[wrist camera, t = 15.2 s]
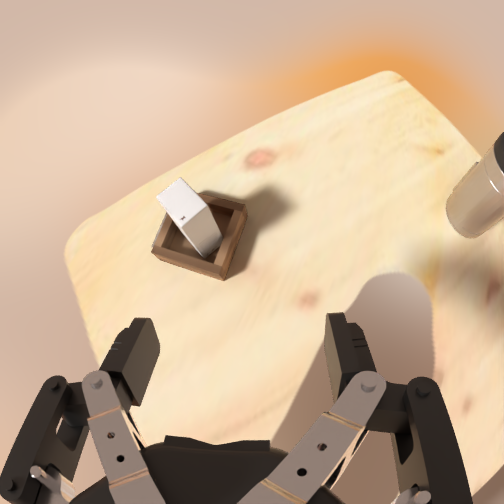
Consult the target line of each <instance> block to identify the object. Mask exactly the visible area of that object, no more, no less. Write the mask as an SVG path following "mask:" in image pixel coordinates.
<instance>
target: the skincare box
mask: <svg viewBox="0 0 504 504" xmlns="http://www.w3.org/2000/svg"><path fill="white" fill-rule="evenodd" d="M156 197H157V199H158V201H159V202H160V203H161V205H162V206H163V208H164V209H165V210H166V212H167V213H168V214H169V216H170V217H171V218H172V220H173V221H174V222H175V224H176V225H177V226H178V228H179V229H180V231H181V232H182V233H183V235H184V236H185V237H186V238H187V239H188V241H189V242H190V243H191V244H192V245H193V247H194V248H195V249H196V250H197V251H198V252H199V254H200V255H201V256H202V257H203V258H204V259H205V258H206V257H207V256H209V255H210V254H211V253H212V252H213V251H214V250H216V249H217V248H218V247H219V246H220V245H221V243H222V241H223V237H222V234H221V232H220V230H219V228H218V226H217V224H216V222H215V220H214V218H213V216H212V213H211V211H210V209H209V207H208V205H207V204H206V203H205V202H204V201H203V199H202V198H201V197H200V196H199V195H198V194H197V193H196V192H195V191H194V190H193V189H192V188H191V187H190V186H189V185H188V184H187V183H186V182H185V181H184V180H183V179H182V178H181V177H180V178H179V179H178V180H176V181H175V182H174V183H173V184H171V185H170V186H169V187H168V188H166V189H165V190H164V191H162V192H161V193H160V194H159V195H157V196H156Z"/></svg>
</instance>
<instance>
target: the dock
mask: <svg viewBox="0 0 504 504" xmlns="http://www.w3.org/2000/svg"><path fill="white" fill-rule="evenodd" d="M197 194H198V195H199V196H200V197H201V198H202V199H203V201H204V202H205V203H206V204H207V205H208V207H209V209H210V211H211V213H212V216H213V218H214V220H215V222H216V224H217V226H218V228H219V230H220V232H221V234H222V237H223V241H222V243H221V245H220V246H219V247H218V248H217V249H216V250H214V251H213V252H212V253H211V254H210V255H209V256H207V257H206V258H205V259H204V258H203V257H202V256H201V255H200V254H199V252H198V251H197V250H196V249H195V248H194V247H193V245H192V244H191V243H190V242H189V241H188V239H187V238H186V237H185V236H184V235H183V233H182V232H181V231H180V229H179V228H178V226H177V225H176V224H175V222H174V221H173V220H172V218H171V217H170V216H169V214H168V213H166V215H165V217H164V219H163V221H162V224H161V226H160V228H159V231H158V233H157V235H156V237H155V240H154V242H153V244H152V247H153V249H152V251H151V253H153V254H154V255H155V256H156V257H157V258H159V259H160V260H161V261H164V262H167V263H170V264H173V265H176V266H179V267H182V268H185V269H188V270H191V271H194V272H197V273H200V274H203V275H207V276H210V277H213V278H216V279H219V280H222V281H224V280H225V277H226V274H227V271H228V269H229V266H230V263H231V260H232V258H233V255H234V252H235V249H236V247H237V244H238V241H239V238H240V236H241V233H242V230H243V228H244V225H245V222H246V219H247V217H248V215H247V211H246V207H245V205H244V204H240V203H236V202H232V201H228V200H224V199H220V198H216V197H212V196H208V195H204V194H200V193H197Z"/></svg>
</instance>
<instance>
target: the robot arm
mask: <svg viewBox="0 0 504 504" xmlns="http://www.w3.org/2000/svg"><path fill="white" fill-rule="evenodd" d="M446 211H447V215H448V219H449V221H450V223H451V224H452V226H453V227H454V229H455V230H456V231H457V232H458V233H460V234H461V235H463V236H465V237H467V238H476V237H478V236H479V235H481V234H482V233H484V232H485V231H486V230H488V229H489V228H490V227H492V226H493V225H494V224H496V223H497V222H498V221H500V220H501V219H502V218H503V217H504V132H503V133H502V134H501V135H500V136H499V138H498V139H497V140H496V142H495V143H494V144H493V145H492V147H491V148H490V149H489V151H488V152H487V153H486V154H485V156H484V157H483V158H482V159H481V161H480V162H476V163H475V164H474V165H473V166H472V167H471V169H470V170H469V171H468V172H467V173H466V175H465V176H464V177H463V178H462V179H461V181H460V182H459V183H458V184H457V185H456V186H455V188H454V189H453V193H452V194H451V195H450V197H449V198H448V200H447V204H446ZM324 347H325V355H326V360H327V366H328V371H329V377H330V382H331V388H332V394H333V400H334V405H333V407H332V408H331V409H330V411H328V412H324V413H322V414H321V415H320V417H319V418H318V419H317V420H316V422H315V423H314V424H313V425H312V427H311V428H310V429H309V430H308V432H307V433H306V434H305V435H304V437H303V438H302V439H301V440H300V441H299V442H298V444H297V445H296V446H295V447H294V448H293V449H292V451H291V452H290V453H288V452H285V451H283V450H280V449H277V448H273V447H270V440H243V441H237V442H232V443H227V444H221V445H212V444H208V443H205V442H202V441H198V440H195V439H192V438H187V437H177V436H168V435H166V436H165V440H164V442H161V443H156V444H153V445H150V446H148V447H147V445H146V443H145V441H144V439H143V437H142V435H141V433H140V431H139V429H138V427H137V425H136V423H135V421H134V419H133V416H132V414H131V412H130V411H129V410H130V407H131V405H133V406H140V405H141V403H142V400H143V397H144V394H145V392H146V389H147V386H148V383H149V381H150V378H151V375H152V372H153V370H154V367H155V364H156V362H157V359H158V356H159V353H160V343H159V340H158V337H157V334H156V331H155V328H154V325H153V322H152V320H151V319H150V318H134V319H133V321H132V323H131V325H130V327H129V328H125V329H124V330H122V331H121V332H120V333H119V334H118V335H117V337H116V339H115V341H114V344H113V345H112V346H111V350H109V352H108V354H107V356H106V357H105V359H104V361H103V363H102V365H101V367H100V369H99V371H93V372H91V373H89V374H88V375H87V376H86V377H85V378H84V379H83V381H82V382H76V383H68V382H67V381H66V379H65V378H64V377H62V376H53V377H51V378H49V379H48V380H46V381H45V383H44V384H43V386H42V388H41V390H40V392H39V393H38V395H37V397H36V399H35V401H34V403H33V405H32V407H31V409H30V411H29V413H28V415H27V417H26V419H25V421H24V423H23V425H22V428H21V429H20V432H19V434H18V436H17V438H16V441H15V443H14V445H13V447H12V449H11V452H10V454H9V456H8V459H7V461H6V463H5V466H4V468H3V471H2V473H1V476H0V495H1V496H2V497H3V498H4V499H5V500H7V501H9V502H10V503H11V504H345V503H344V502H343V501H342V500H341V499H340V498H338V497H337V496H336V495H335V494H334V493H333V492H332V491H331V489H332V487H333V486H334V485H335V483H336V482H337V481H338V479H339V478H340V476H341V475H342V473H343V472H344V470H345V468H346V467H347V465H348V463H349V462H350V460H351V459H352V457H353V456H354V454H355V452H356V451H357V449H358V448H359V446H360V445H361V443H362V442H363V440H364V438H365V437H366V435H367V433H368V432H369V430H370V431H378V432H388V433H390V435H391V440H392V446H393V451H394V457H395V463H396V469H397V476H398V483H399V491H400V495H399V496H398V497H397V498H396V499H395V500H394V501H393V502H392V503H391V504H473V502H472V497H471V492H470V488H469V484H468V479H467V475H466V471H465V468H464V464H463V460H462V456H461V453H460V449H459V446H458V443H457V439H456V436H455V433H454V430H453V426H452V423H451V420H450V417H449V414H448V411H447V408H446V406H445V403H444V400H443V397H442V394H441V392H440V389H439V387H438V385H437V383H436V382H435V381H433V380H432V379H429V378H427V377H417V378H414V379H412V380H411V381H410V382H409V383H408V385H403V384H394V383H390V382H387V381H385V379H384V378H383V376H381V375H380V374H378V373H377V371H376V368H375V365H374V362H373V359H372V356H371V353H370V350H369V347H368V344H367V341H366V340H365V336H364V333H363V330H362V329H361V328H360V327H359V326H358V325H357V324H356V323H347V321H346V318H345V315H344V313H343V312H339V313H327V315H326V325H325V338H324ZM61 417H62V418H63V420H62V422H61V425H60V427H59V430H58V432H57V435H56V428H57V426H58V423H59V421H60V418H61ZM89 430H90V431H91V434H92V437H93V440H94V443H95V446H96V449H97V452H98V455H99V457H100V460H101V463H102V466H103V468H104V471H105V474H106V476H105V477H104V478H102V479H101V480H99V481H98V482H96V483H95V484H93V485H92V486H91V487H89V488H88V489H86V490H85V491H83V492H82V493H80V494H79V495H77V496H76V495H75V489H74V486H73V484H72V481H73V478H74V474H75V471H76V468H77V465H78V462H79V459H80V455H81V453H82V450H83V447H84V444H85V441H86V438H87V435H88V432H89Z"/></svg>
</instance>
